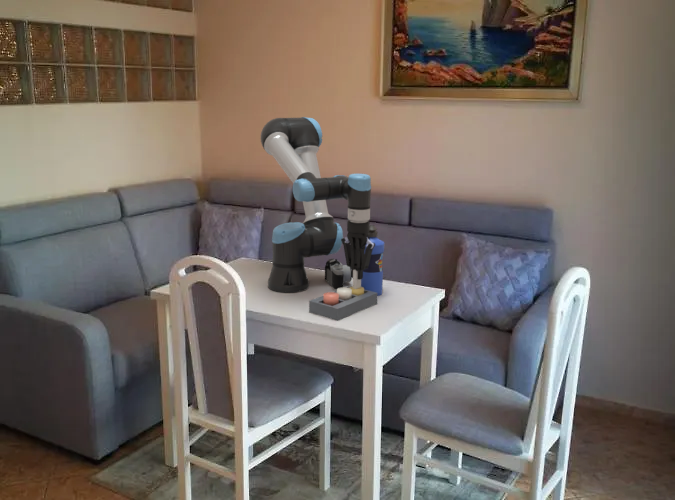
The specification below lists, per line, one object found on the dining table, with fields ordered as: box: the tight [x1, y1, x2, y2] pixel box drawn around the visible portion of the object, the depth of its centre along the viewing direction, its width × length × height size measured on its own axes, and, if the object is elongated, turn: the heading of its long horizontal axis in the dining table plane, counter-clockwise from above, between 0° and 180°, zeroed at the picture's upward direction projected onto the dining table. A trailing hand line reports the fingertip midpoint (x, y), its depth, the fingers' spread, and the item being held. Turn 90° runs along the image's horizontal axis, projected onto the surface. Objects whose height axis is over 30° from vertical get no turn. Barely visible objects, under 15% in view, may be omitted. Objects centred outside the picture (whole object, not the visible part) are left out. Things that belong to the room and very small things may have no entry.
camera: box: [324, 258, 353, 291], centre depth 251 cm, size 16×9×10 cm, turn 16°
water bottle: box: [361, 224, 385, 297], centre depth 240 cm, size 9×9×25 cm
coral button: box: [322, 291, 339, 306], centre depth 220 cm, size 5×5×3 cm
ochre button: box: [350, 285, 364, 296], centre depth 231 cm, size 5×5×3 cm
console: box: [308, 285, 379, 322], centre depth 226 cm, size 12×22×4 cm, turn 141°
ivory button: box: [337, 286, 352, 301], centre depth 225 cm, size 5×5×3 cm
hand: (356, 287), depth 231 cm, fingers closed
